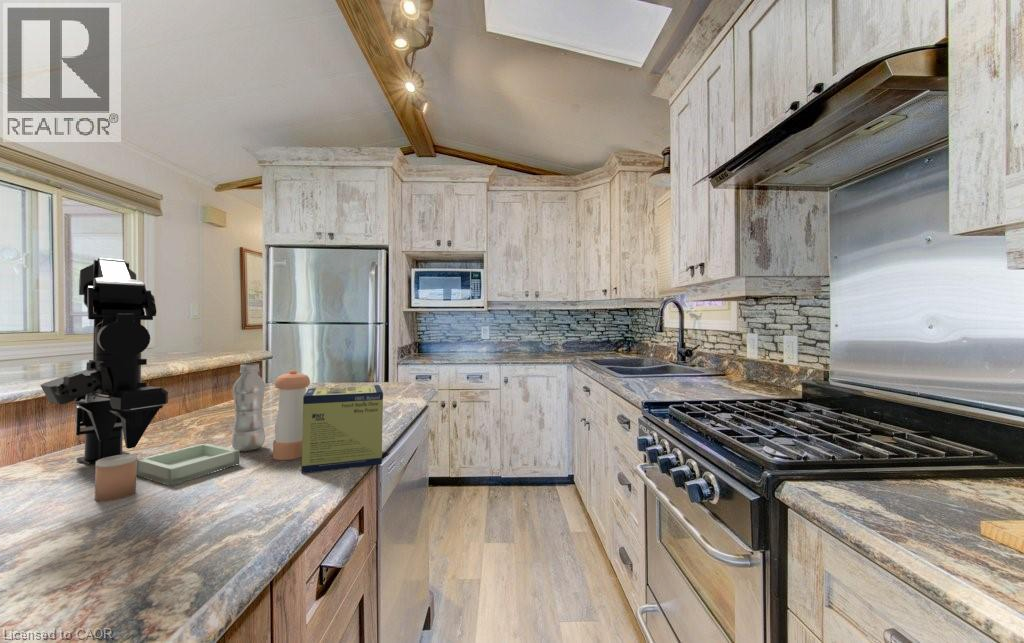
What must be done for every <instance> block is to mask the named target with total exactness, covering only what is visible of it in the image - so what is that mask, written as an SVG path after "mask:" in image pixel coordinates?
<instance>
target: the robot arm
mask: <svg viewBox="0 0 1024 643" xmlns="http://www.w3.org/2000/svg"><path fill="white" fill-rule="evenodd" d="M78 294H79V295H78V296H83V304H84V305H85V307H86V308H87V320H93V338H92V344H93V345H92V347H93V348H92V359H88V361H87V362H86V368H85V369H84V370H81V371H78V372H73V373H71V374H68V375H64V376H61V377H59V378H55V379H51V380H50V381H46V382H44V383H41V384H40V387H41V389H42V391H43V392H44V394H45V397H46V398H47V400H48V402H49V403H50V404H54V403H55V404H56V405H59V406H60V405H61V406H62V405H66V404H68V403H71V402H73V403H72V404H73V405H74V406H76V414H75V436H81V435H84V456H81V457H77V458H76V462H80V463H82V464H83V463H84V464H87V465H94V464H95V465H96V461H97V460H100V459H102V458H106V457H110V456H115V455H122V454H131V453H130V452H125V451H124V450H123V441H124V443H125V444H124V445H125V448H126V449H134V448H136V447H137V445H138V444H139V441H140V440H141V438H143V435H144V434H145V432H146V430H147V429H148V427H149V426H150V424H151V422H152V421H153V419H154V418H155V417H156V415H157V413H158V412H159V411H160V410H161V409H163V407H164V405H166V404H169V391H167V390H166V389H164V388H163V387H159V386H147V381H142V380H141V379H142V366H143V365H144V366H145V365H146V366H147V364H148V362H147V358H142V353H143V352H144V351H145V350H146V349H147V348H148V346H149V345H150V343H151V342H150V341H151V334H150V332H149V330H148V329H147V328H146V327H145V326H144V325H142V321H153V320H154V317H156V316H157V306H156V300H155V299H156V298H155V295H153V294H152V290H151V289H149V288H146V284H145V283H144V282H143V281H142V280H138V279H137V273H135V272H134V271H133V270H132V269H131V268H130V262H129V261H126V260H124V259H118V258H108V257H107V258H106V257H98V258H94V259H93V263H92V264H91V265H90V264H89V265H88V266H86V267H84V268H82V269H80V270H79V280H78Z"/></svg>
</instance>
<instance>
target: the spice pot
mask: <svg viewBox="0 0 1024 643" xmlns="http://www.w3.org/2000/svg"><path fill="white" fill-rule="evenodd" d="M137 457H138V455H137V454H135V453H130V454H122V455H115V456H110V457H106V458H102V459H100V460H97V461H96V464H95V471H94V472H95V478H94V480H95V482H94V501H96V502H109V501H116V500H120V499H123V498H124V499H125V498H126V497H129V496H131V495H134V494H135V493H136V492H137V475H136V470H137V459H138V458H137ZM133 493H134V494H133Z"/></svg>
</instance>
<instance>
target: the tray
mask: <svg viewBox="0 0 1024 643" xmlns="http://www.w3.org/2000/svg"><path fill="white" fill-rule="evenodd" d="M236 464H239V465H240V451H239V450H235V449H234V448H229V447H224V446H222V445H216V444H211V443H207V442H204V443H201V444H196V445H192V446H188V447H183V448H179V449H175V450H170V451H166V452H163V453H159V454H154V455H151V456H146V457H142V458H137V470H136V476H137V475H138V476H137V477H140V476H141V478H143V477H145V478H144V479H147V478H149V479H148V480H150V479H152V480H151V481H153V480H155V481H154V482H157V481H158V482H157V483H160V482H161V483H160V484H163V483H165V484H164V485H166V484H167V486H171V485H172V486H175V485H178V484H181V482H182V483H185V482H188V481H191V480H195V479H197V478H196V477H198V478H200V477H199V476H201V477H203V476H202V475H204V476H207V475H206V474H208V473H211V472H214V471H217V470H220V469H224V468H227V467H230V466H233V465H236ZM230 468H231V467H230ZM227 469H228V468H227ZM224 470H225V469H224ZM217 472H218V471H217ZM214 473H215V472H214ZM211 474H212V473H211ZM208 475H209V474H208ZM194 478H195V479H194ZM190 479H191V480H190ZM187 480H188V481H187ZM184 481H185V482H184ZM172 486H171V487H172Z"/></svg>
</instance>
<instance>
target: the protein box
mask: <svg viewBox="0 0 1024 643" xmlns="http://www.w3.org/2000/svg"><path fill="white" fill-rule="evenodd" d="M383 409H384V392H383V390H382V387H381V386H380V385H379V384H372V385H371V384H370V385H355V386H352V385H351V386H335V387H334V386H333V387H332V386H331V387H312V388H308V389H307V390H306V394H305V395H304V396H303V434H302V457H301V469H300V471H301V474H309V473H311V474H312V473H319V472H326V471H335V470H337V471H338V470H343V469H353V468H361V467H370V466H371V467H372V466H379V465H382V462H383V459H382V458H383V415H384V410H383Z"/></svg>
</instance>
